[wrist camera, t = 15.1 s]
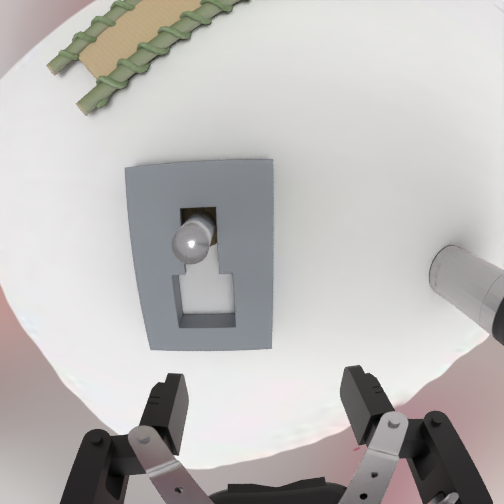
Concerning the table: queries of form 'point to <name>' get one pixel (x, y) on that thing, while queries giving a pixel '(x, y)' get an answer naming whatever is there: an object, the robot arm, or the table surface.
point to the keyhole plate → (229, 250)
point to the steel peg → (195, 234)
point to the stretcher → (132, 40)
